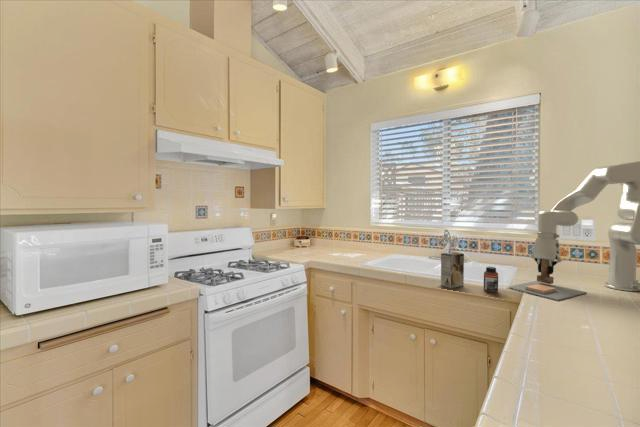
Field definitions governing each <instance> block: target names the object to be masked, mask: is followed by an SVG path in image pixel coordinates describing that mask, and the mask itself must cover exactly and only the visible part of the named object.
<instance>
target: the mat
mask: <svg viewBox="0 0 640 427" xmlns="http://www.w3.org/2000/svg"><path fill="white" fill-rule="evenodd" d="M535 284H540V285H545V286H549V287H554V288H556V292H551V293H547V294H541V293H537V292H533V291H529V290H525V287H526V286H530V285H535ZM507 287H509V288H511V289H510V290H512V289H515V290H514V291H516V290H519V291H518V292H520V291H521V292H520V293H524V292H525V294H529V295H532V296H536V297H540V298H544V299H547V300H551V301H556V302H559V301H563V300H567V299H570V298H574V297H579V296H582V295H587V293H588V292H586V291H585V290H584V291H583V290H580V289H579V290H578V289H574V288H569V287H564V286H561V285H555V284H553V283H552V284H548V283H543V282H538V281H537V280H534V281H529V282H523V283H520V284H519V283H518V284H513V285H510V286H507Z"/></svg>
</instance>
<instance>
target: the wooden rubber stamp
mask: <svg viewBox="0 0 640 427" xmlns="http://www.w3.org/2000/svg"><path fill="white" fill-rule="evenodd" d="M548 266H549V260H547V259H541V272H540V274H537V275H536V281H538V282H543V283H547V284H552V285H553V284H554V278H555V277H554V276H550V275H551V274H548Z"/></svg>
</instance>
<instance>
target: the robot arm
mask: <svg viewBox="0 0 640 427" xmlns="http://www.w3.org/2000/svg"><path fill="white" fill-rule="evenodd" d="M615 184H618V185H619V184H620V186H621V195H620V199H619V203H618V207H617V212H616V213H617V216H618V217H619V218H620V219H622V220H625V221H632V222H625V221H623V222H616V223H614V224H612V225H611V226H610V227H609V228H608V232H607V235H608V240H609V261H608V264H609V267H608V268H609V269H608V281H607V282H604V283H603V285H604V287H606V288H609V289H613V290H619V291H623V292H624V291H625V292H638V291H640V282H639V279H636V278H637V265H638V264H637V260H638V249H637V247H636V246H640V161H632V162H623V163H619V164H614V165H607V166H600V167H596V168H594V169H593V170H592V171H590V173H589V174H588V175H587V176H586V177H585V179H584V180H583V181H582V182H581V183H580V185H579V186H577V188H576V189H575V190H574V191H573V192H571V193H568V195H567V196H565V197H563V198H562V199H561V200H559V201H558V202H557V203H556V204H555V205H554V207H553V208H552V209H551V210H541V211H538V214H537V215H538V216H537V221H538V222H537V237H536V238H535V242H534V245H533V246H534V247H533V253H532V254H531V256H530V258H531V259H533V260H534V261H535V262H536V264H537V270H538V271H537V272H538V273H541V259H547V260H549V266H548V274H550V275H553V273H554V270H555V269H554V268H555V267H554V266H556V265H557V264H559V263H561V262H563V259H562V258H561V247H560V243H559V242H560V241H559V239H557V238H560V234H558V233H557V229H558V226H561V227H573V226H575V225H577V223H578V222H579V216H578V214H577V213H575V212H574V211H573V210H575V209H576V208H578V207H581V206H583V205H586V204H589V203H591V202H592V201H594V200H596V198H597V197H598V196H599V195H600V193H601V192H602V191H603V190H604V189H605V188H606V187H607V186H608V185H615Z"/></svg>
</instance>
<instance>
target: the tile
mask: <svg viewBox="0 0 640 427" xmlns="http://www.w3.org/2000/svg"><path fill="white" fill-rule="evenodd" d="M525 290H529V291H533V292H537V293H541V294H547V293H551V292H556V288H554V287H549V286H545V285H540V284H535V285H530V286H526V287H525Z"/></svg>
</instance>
